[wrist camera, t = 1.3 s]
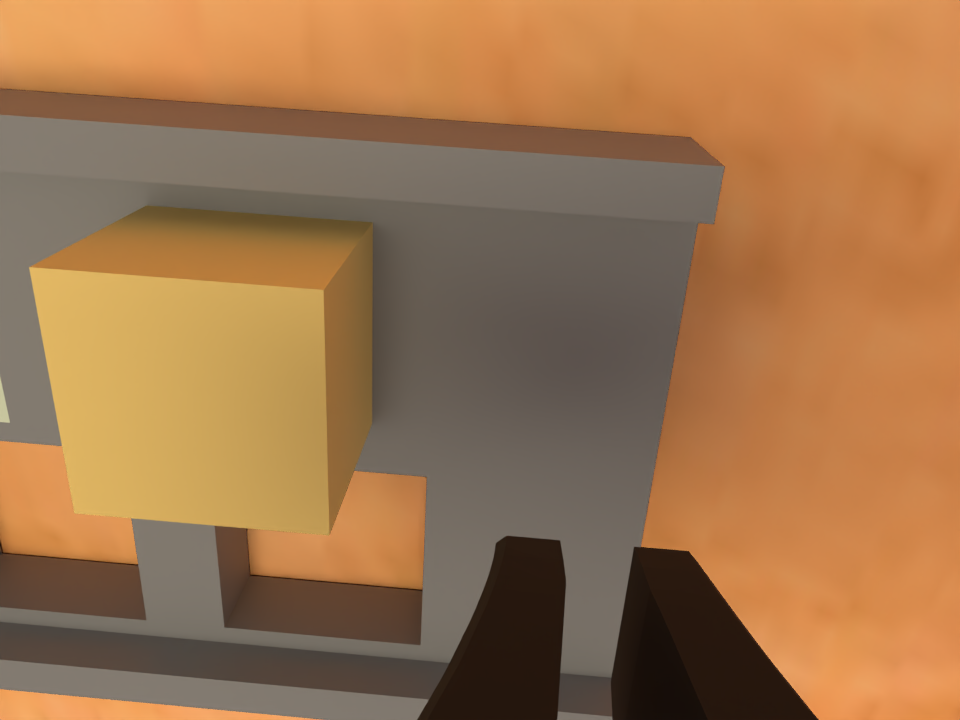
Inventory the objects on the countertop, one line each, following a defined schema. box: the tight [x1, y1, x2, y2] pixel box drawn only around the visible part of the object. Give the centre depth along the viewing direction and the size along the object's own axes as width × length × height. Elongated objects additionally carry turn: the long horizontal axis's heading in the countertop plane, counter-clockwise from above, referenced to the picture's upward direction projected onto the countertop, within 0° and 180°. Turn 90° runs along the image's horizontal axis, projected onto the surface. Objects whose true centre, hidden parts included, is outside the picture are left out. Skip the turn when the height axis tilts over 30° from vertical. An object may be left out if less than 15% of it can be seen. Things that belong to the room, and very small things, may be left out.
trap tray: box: [0, 89, 725, 720], centre depth 18 cm, size 20×14×3 cm
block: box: [29, 205, 373, 536], centre depth 15 cm, size 4×4×4 cm
